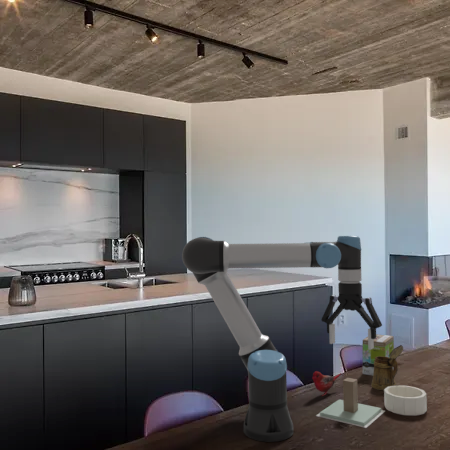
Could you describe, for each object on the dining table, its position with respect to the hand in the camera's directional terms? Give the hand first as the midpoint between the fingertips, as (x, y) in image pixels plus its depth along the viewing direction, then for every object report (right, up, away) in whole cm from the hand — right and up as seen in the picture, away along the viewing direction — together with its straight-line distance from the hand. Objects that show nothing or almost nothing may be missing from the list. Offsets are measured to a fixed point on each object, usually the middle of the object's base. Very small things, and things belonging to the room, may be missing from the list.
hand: (351, 346), depth 159 cm
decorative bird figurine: (-4, -23, +19) cm, 30 cm away
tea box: (+24, -23, +47) cm, 58 cm away
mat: (0, -23, -1) cm, 23 cm away
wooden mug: (+21, -23, +25) cm, 39 cm away
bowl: (+19, -22, +3) cm, 30 cm away
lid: (0, -22, -1) cm, 22 cm away
